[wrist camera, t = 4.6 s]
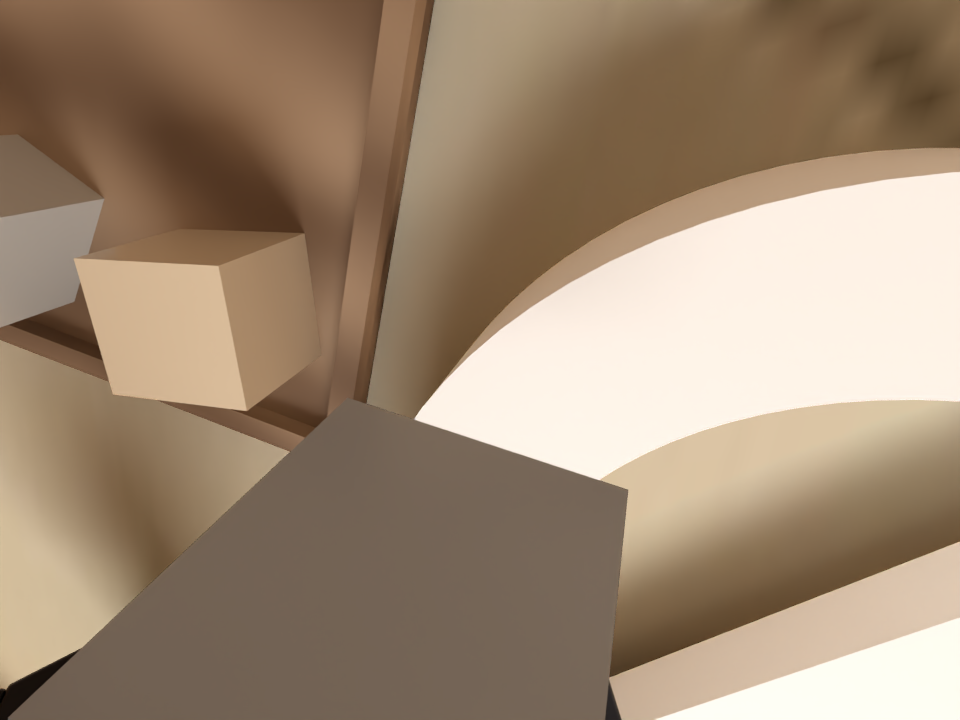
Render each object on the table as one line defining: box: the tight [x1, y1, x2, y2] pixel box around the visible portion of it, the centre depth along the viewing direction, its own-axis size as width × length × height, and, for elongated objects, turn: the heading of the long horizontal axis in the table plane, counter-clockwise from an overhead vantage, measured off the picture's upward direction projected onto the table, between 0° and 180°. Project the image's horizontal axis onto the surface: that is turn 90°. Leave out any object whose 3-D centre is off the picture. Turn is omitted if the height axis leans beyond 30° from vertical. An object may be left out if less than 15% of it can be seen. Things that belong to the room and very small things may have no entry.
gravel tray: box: [0, 0, 434, 452], centre depth 19 cm, size 18×17×1 cm
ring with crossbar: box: [414, 148, 960, 720], centre depth 18 cm, size 28×28×5 cm
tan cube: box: [74, 229, 321, 411], centre depth 18 cm, size 4×4×4 cm
